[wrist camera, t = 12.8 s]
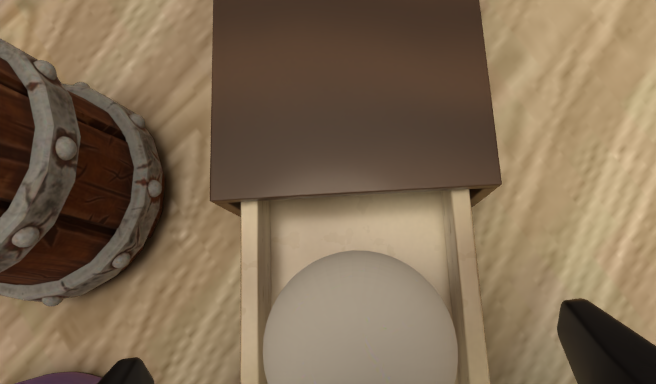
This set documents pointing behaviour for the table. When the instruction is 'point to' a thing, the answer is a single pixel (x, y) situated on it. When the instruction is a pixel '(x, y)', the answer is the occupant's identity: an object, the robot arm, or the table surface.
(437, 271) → the drawer
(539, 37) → the table surface
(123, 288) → the table surface
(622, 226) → the table surface
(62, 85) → the mug
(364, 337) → the light bulb
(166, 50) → the table surface
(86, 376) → the tape roll
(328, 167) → the cabinet
